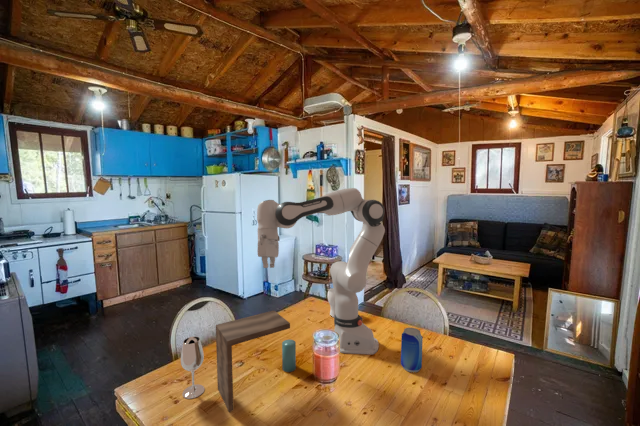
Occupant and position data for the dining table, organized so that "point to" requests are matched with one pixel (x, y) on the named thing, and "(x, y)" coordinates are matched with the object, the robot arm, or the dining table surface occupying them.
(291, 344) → the teal cylinder
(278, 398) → the dining table surface
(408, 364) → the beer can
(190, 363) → the wineglass
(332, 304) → the cup
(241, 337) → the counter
